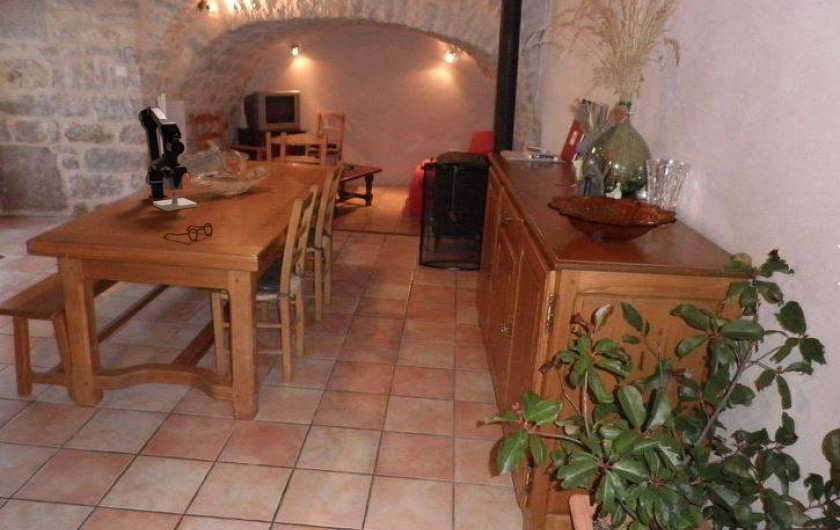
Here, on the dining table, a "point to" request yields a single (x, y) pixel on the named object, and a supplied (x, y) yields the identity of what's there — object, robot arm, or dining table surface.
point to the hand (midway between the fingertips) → (173, 186)
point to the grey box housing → (171, 184)
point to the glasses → (195, 231)
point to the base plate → (174, 203)
